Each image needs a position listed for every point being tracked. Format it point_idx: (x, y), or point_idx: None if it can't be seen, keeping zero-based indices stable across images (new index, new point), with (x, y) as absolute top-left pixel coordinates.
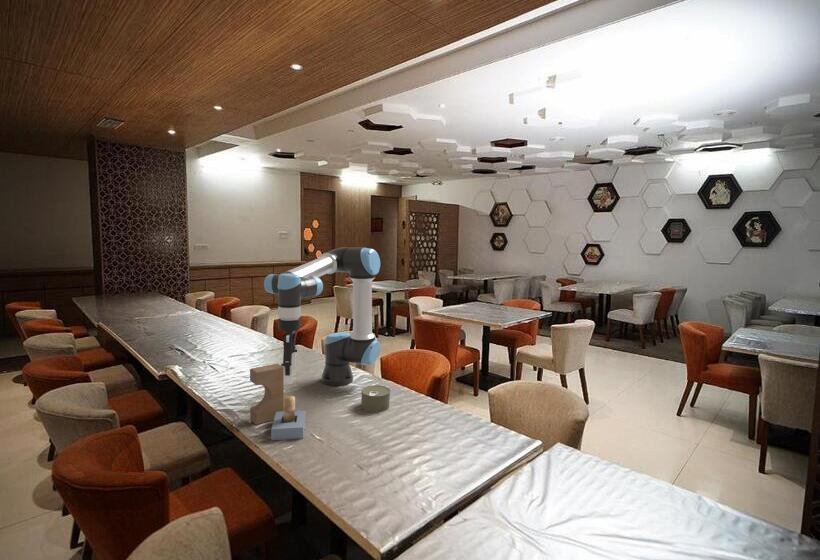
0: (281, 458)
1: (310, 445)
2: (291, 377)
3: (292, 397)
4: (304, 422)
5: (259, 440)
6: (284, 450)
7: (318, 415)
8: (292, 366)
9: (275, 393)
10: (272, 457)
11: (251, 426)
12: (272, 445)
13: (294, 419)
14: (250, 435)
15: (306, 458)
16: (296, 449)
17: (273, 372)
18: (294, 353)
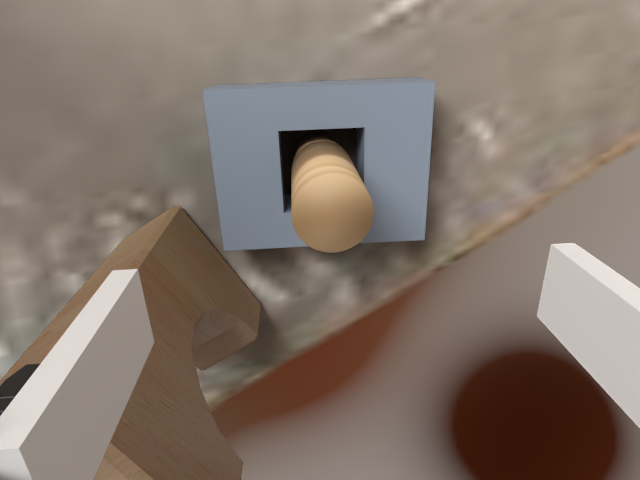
0: (572, 153)
1: (495, 30)
2: (624, 281)
3: (329, 192)
4: (291, 84)
5: (402, 263)
6: (510, 150)
7: (141, 7)
8: (127, 324)
9: (175, 308)
10: (553, 190)
11: (272, 318)
12: (455, 206)
13: (330, 142)
14: (353, 304)
15: (608, 41)
16: (515, 98)
17: (138, 435)
18: (14, 457)
